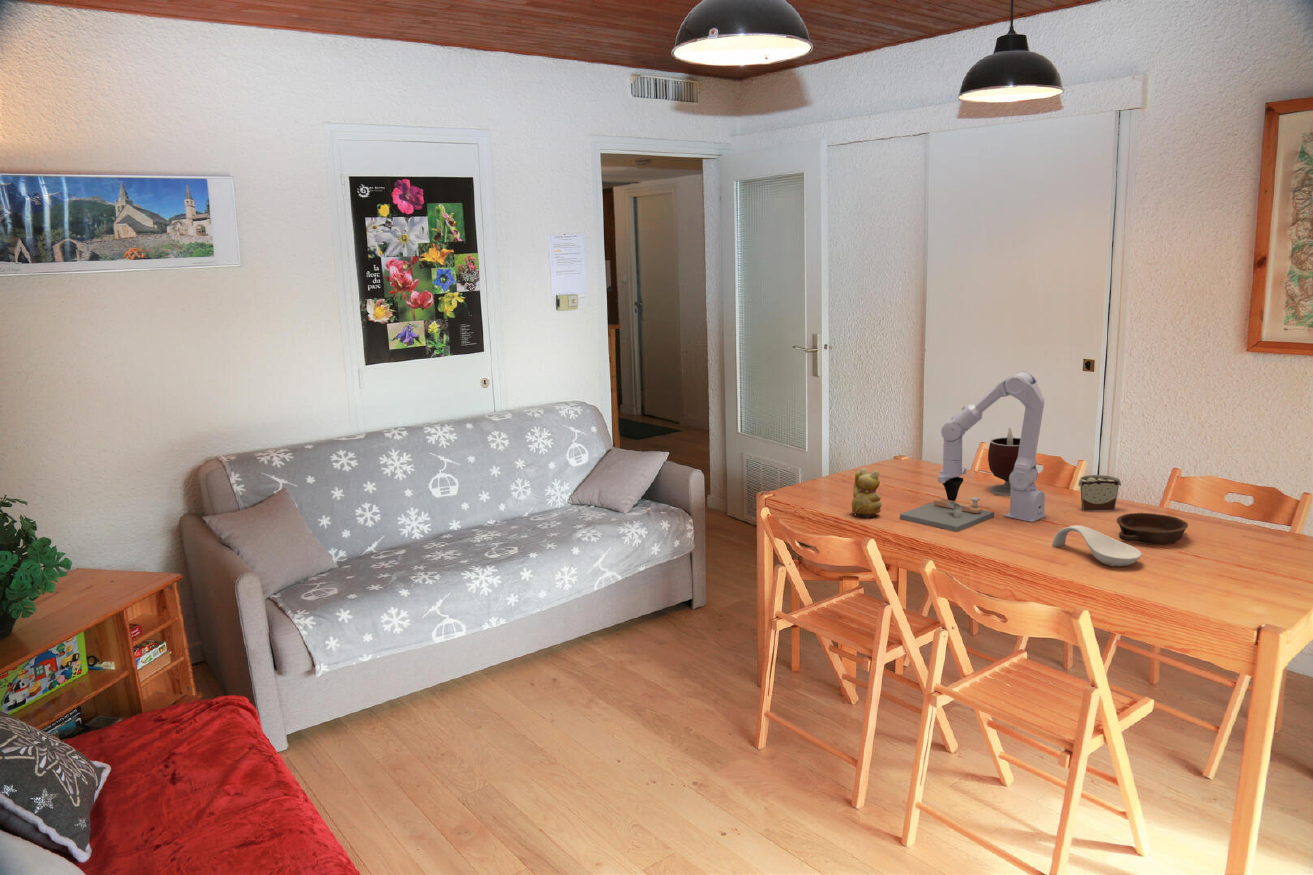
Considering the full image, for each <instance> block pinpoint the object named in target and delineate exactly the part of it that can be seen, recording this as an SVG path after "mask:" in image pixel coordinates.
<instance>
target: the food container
mask: <svg viewBox="0 0 1313 875" xmlns="http://www.w3.org/2000/svg"><path fill="white" fill-rule="evenodd" d="M1077 486H1078V487H1080V500H1081V511H1082V512H1113V511H1116V506H1117V505H1116V504H1117V501H1118V494H1119V488H1120V486H1122V482H1121V480H1120V478H1118V477H1115V476H1111V475H1104V474H1103V475H1102V474H1089V475H1084V476H1081V477H1080V478H1079V481H1078V484H1077Z"/></svg>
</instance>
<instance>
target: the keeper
mask: <svg viewBox="0 0 1313 875" xmlns="http://www.w3.org/2000/svg"><path fill="white" fill-rule="evenodd" d="M947 505H948V506H950V507H951V508H953V509H954V517H955V518H958V517H962V506H961V505H959V504H957V503H955V502H947Z"/></svg>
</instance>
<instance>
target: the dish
mask: <svg viewBox="0 0 1313 875" xmlns="http://www.w3.org/2000/svg"><path fill="white" fill-rule="evenodd" d="M1116 523H1117V524H1118V526H1119V529H1120V531H1119V534H1118V537H1119V539H1120V541H1125V542H1137V543H1140V544H1147V545H1169V544H1174V543H1177V542H1178V541H1180V540H1182V537H1183V536H1184V533H1185V531H1186V529H1187V528H1188V527H1189V524H1188V522H1186V521H1185V520H1183V519H1180V518H1179V517H1177V516H1172V515H1166V514H1157V513H1149V512H1148V513H1147V512H1145V513H1144V512H1135V513H1134V512H1133V513H1126V514H1122V515H1119V516H1118V517H1117V518H1116Z"/></svg>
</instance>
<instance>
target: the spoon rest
mask: <svg viewBox="0 0 1313 875" xmlns="http://www.w3.org/2000/svg"><path fill="white" fill-rule="evenodd" d="M1069 532H1077V533H1079V534H1080V535H1081V536H1082V538H1083V539H1084V541H1085V543H1086V544H1087V547H1088V549H1089V550H1090V552H1091V553H1092V555H1093V556H1094V557H1095V559H1096V560H1098V561H1099V562H1100V563H1101V562H1102V564H1103V563H1104V565H1106V564H1107V566H1110V565H1113V566H1112V567H1126V566H1130V565H1133V564H1134V563H1136V562H1137V561H1138V560H1140V559H1141V557H1142V555H1143V554H1142V551H1140V550H1139V549H1138V548H1136V547H1134V546H1133V545H1130V544H1127V543H1125V542H1122V541H1121V540H1117V539H1115V538H1112V537H1110V536H1108V535H1106V534H1103V533H1102V532H1099V531H1097V530H1095V529H1092V528H1090V527H1087V526H1084V525H1078V524H1076V525H1075V524H1074V525H1070V526H1067V527H1064V528H1063V527H1062V528H1061V529H1059V530H1058V531H1057V532H1056V534H1055V535H1054V537H1053V540H1052V544H1051V545H1052V547H1054V548H1056V547H1062V546H1064V545H1066V540H1067V535H1068V533H1069Z"/></svg>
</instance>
